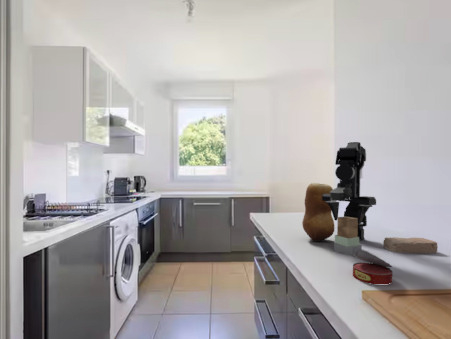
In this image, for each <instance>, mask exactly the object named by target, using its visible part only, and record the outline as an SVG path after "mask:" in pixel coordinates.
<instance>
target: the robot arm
mask: <svg viewBox="0 0 451 339" xmlns="http://www.w3.org/2000/svg"><path fill="white" fill-rule="evenodd" d="M361 144H362V143H361V142H359V141H354V142H353V141H352V142H351V141H349V142H347V145H346V146H345V147H339V148H338V150H337V151H336V157H335V158H336V159H335V165H336V166H337V167H336V169H335V171H334V172H335V176H336V178H337V179H338V180H339V182H338V183H337V185H336V188H335V187H334V189H333V188H332V189H333V190H332V191H330V194H323V196H322V201H326V202H325V203H327V204H328V205H329V206H330V208H331V215H332V218H333V220H334V221H338V217H339V209H340V202H349V203H348V204H347V206H346V207H345V210H344V213H343V217H352V218H358V236H357V237H359V241H361V240H362V241H363V240H365V239H366V238H365V229H364V227H367V226H368V224H367V223H368V221H367V215H366V213H367V212H368V211H369V209H370V208H372V207H373V206H376V205H377V199H376V197H375V196H367V195H366V196H365V195H363V196H362V195H361V171H362V169H364V166H365V162H367V151H366V148H364V147H363V146H362V145H361Z"/></svg>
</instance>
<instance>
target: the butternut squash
mask: <svg viewBox="0 0 451 339" xmlns="http://www.w3.org/2000/svg"><path fill="white" fill-rule="evenodd" d="M332 190H333V187H332V186H331V185H329V184H327V183H318V182H312V183H310V184H309V185H307V188H306V190H305V197H304V208H305V209H304V210H305V212H304V213H303V218H302V222H301V225H302V229H303V230H304V232H305V233H306V235H307V236H308V237H309V238H310V240H312V242H319V241H320V242H321V241H325V240H326V239H328V238H330V237H332V235H333V234H335V220H334V217H333V214H332V211H331V208H330V206H329V205H328V204H327V203H325V202H326V201H322V196H323V194H330V191H332Z"/></svg>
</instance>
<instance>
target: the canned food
mask: <svg viewBox="0 0 451 339" xmlns="http://www.w3.org/2000/svg"><path fill="white" fill-rule="evenodd" d="M352 256H354V257H355V258H357V259H358V260H362V261H364V262H355V263H353V264H352V277H353V278H354V279H355V280H357V281H360V282H361V283H362V282H363V283H365V284H369V283H371V284H370V285H374V284H389V283H392V284H393V270H392V269H391V268H392V267H393V266H392V265H391V264H390V263H389V262H386V261H385V260H383V259H381V258H380V257H378V256H376V255H375V254H373V253H371V252H369V251H367V250H364V249H355V250H354V251H353V255H352ZM389 285H390V284H389Z"/></svg>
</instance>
